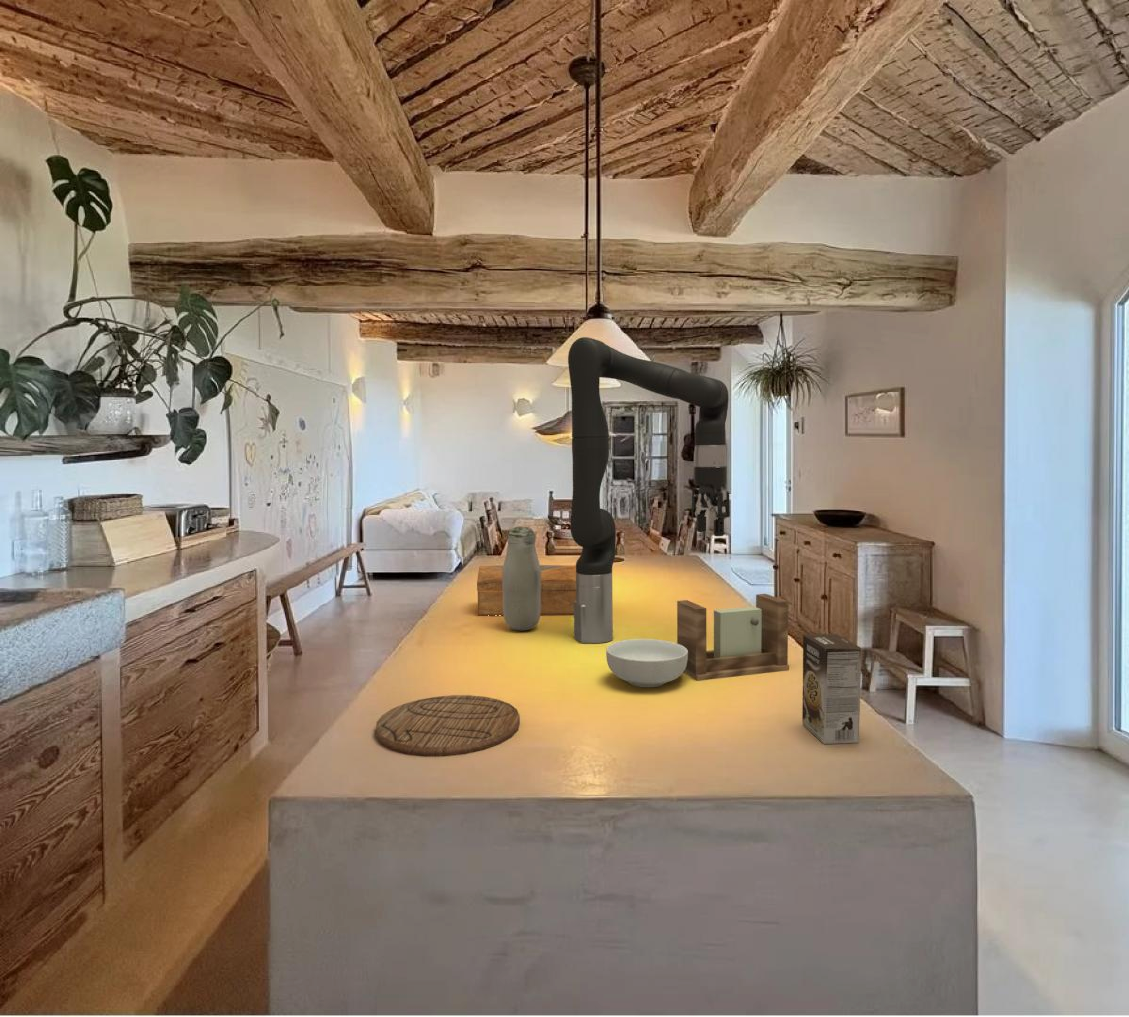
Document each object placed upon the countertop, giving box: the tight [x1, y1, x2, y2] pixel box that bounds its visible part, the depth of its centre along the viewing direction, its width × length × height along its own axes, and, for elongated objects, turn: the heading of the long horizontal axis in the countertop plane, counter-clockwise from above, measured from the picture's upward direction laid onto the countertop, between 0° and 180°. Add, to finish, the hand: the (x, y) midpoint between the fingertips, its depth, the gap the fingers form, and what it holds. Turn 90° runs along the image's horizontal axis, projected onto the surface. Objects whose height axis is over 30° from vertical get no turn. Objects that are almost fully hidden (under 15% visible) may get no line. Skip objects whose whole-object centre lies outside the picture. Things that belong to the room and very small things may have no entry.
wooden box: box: [476, 564, 576, 617], centre depth 223 cm, size 30×16×14 cm, turn 88°
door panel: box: [713, 606, 762, 658], centre depth 162 cm, size 10×4×12 cm, turn 107°
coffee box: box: [801, 633, 862, 745], centre depth 125 cm, size 9×6×16 cm
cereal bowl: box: [605, 638, 688, 688], centre depth 155 cm, size 17×17×7 cm
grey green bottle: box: [502, 526, 541, 632], centre depth 200 cm, size 10×10×28 cm
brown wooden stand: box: [676, 593, 790, 682], centre depth 162 cm, size 22×10×15 cm, turn 107°
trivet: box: [375, 694, 521, 757], centre depth 131 cm, size 25×25×2 cm
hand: (710, 533), depth 175 cm, fingers open, 8 cm apart
